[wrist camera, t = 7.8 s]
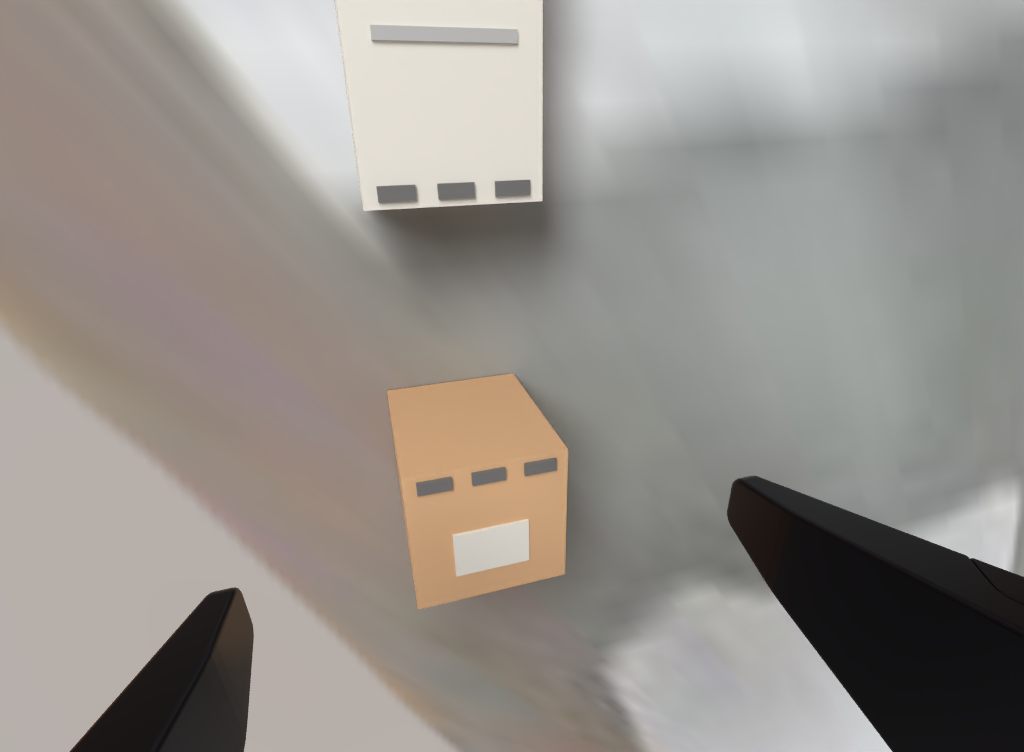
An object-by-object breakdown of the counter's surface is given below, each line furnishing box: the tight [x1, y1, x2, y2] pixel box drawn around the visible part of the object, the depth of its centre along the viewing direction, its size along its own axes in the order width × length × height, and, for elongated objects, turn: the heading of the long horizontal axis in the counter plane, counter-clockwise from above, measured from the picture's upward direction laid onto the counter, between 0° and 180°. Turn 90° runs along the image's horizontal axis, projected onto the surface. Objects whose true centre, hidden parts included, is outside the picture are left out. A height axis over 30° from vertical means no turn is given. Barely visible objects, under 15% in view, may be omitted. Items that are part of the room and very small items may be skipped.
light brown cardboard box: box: [387, 373, 568, 610], centre depth 19 cm, size 5×5×6 cm
